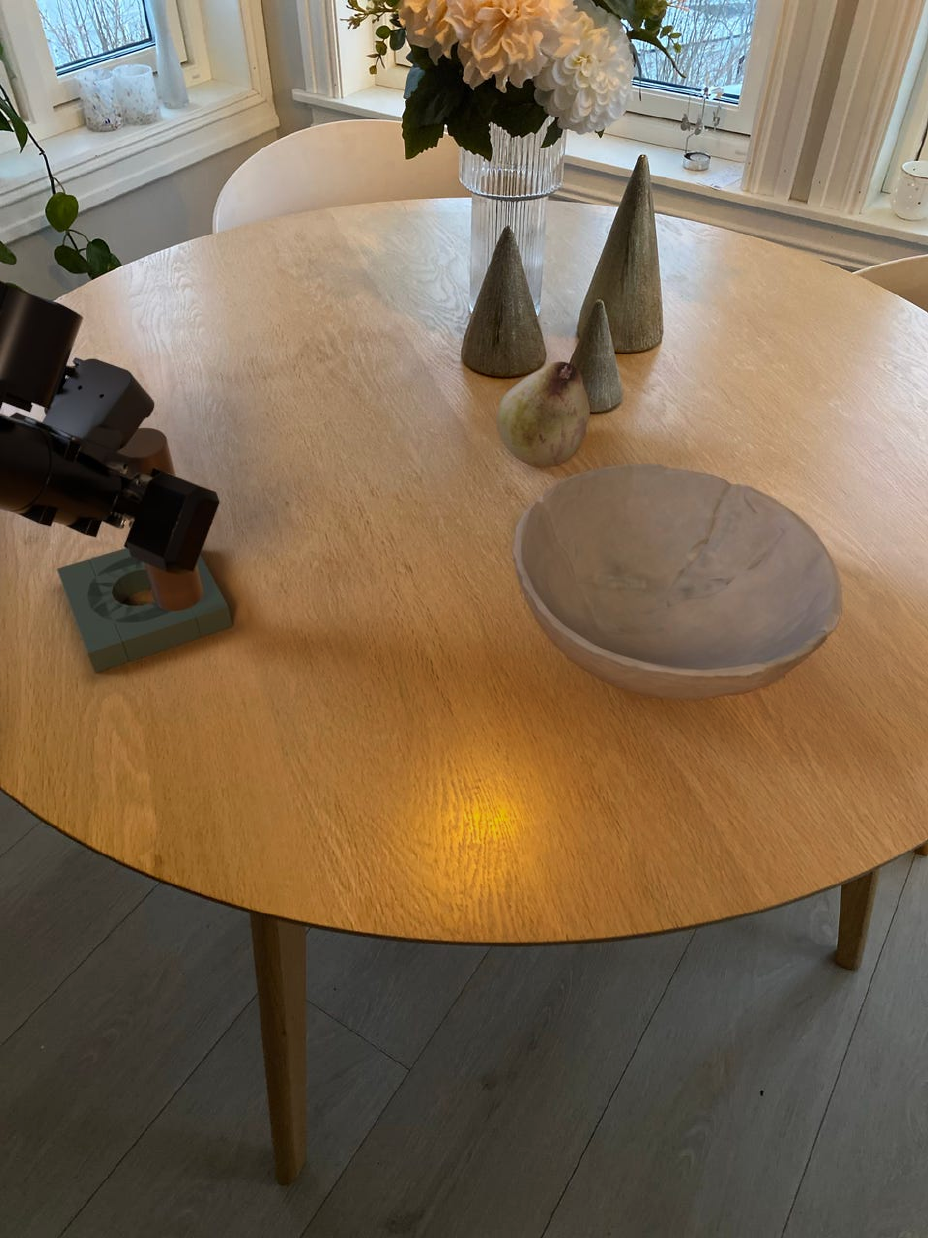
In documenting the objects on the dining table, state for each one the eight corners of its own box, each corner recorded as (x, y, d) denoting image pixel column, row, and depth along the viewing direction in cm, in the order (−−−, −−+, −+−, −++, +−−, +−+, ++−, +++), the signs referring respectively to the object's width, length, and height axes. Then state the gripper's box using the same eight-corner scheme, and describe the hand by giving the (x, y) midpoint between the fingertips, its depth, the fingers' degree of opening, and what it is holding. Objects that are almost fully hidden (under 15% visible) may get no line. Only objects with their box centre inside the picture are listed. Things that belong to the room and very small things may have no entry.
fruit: (561, 492, 99) (571, 389, 91) (479, 467, 102) (482, 365, 94) (597, 443, 106) (610, 343, 97) (520, 421, 109) (526, 322, 101)
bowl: (631, 510, 97) (644, 425, 90) (870, 644, 84) (908, 557, 77) (443, 636, 84) (442, 548, 77) (691, 821, 70) (717, 734, 63)
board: (95, 673, 80) (87, 653, 78) (64, 588, 88) (56, 568, 86) (232, 626, 84) (228, 606, 83) (192, 549, 92) (187, 529, 90)
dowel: (188, 616, 78) (148, 462, 68) (145, 605, 79) (98, 452, 68) (212, 584, 81) (176, 432, 70) (169, 575, 82) (128, 423, 71)
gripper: (171, 387, 57) (303, 453, 72) (-40, 311, 64) (120, 385, 78) (106, 561, 58) (250, 591, 72) (-96, 468, 64) (73, 513, 79)
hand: (172, 514), depth 75 cm, fingers closed on dowel, 4 cm apart
